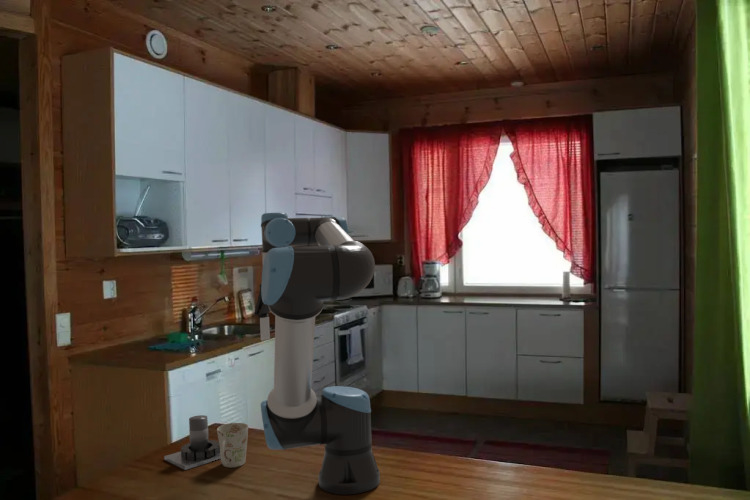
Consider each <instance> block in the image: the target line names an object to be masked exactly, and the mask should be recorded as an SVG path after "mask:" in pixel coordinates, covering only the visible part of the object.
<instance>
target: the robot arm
mask: <svg viewBox="0 0 750 500" xmlns="http://www.w3.org/2000/svg"><path fill="white" fill-rule="evenodd" d="M260 228H261V245H262V246H261V247H262V257H261V259H262V271H261V283H260V284H259V293H258V297H257V301H256V305H255V309H254V311H253V312H254V315H255V316H258V318H259V331H260V341H262V342H263V341H268V340H271V335H270V334H271V330H270V316H269V313H270V312H271V313H272V314H273V315H274V316H275V321H274V368H273V370H274V371H273V372H274V374H273V377H274V378H273V388H272V389H271V391H269V393H268V396H267V399H265V400H263V401H261V402H260V411H261V412H260V413H261V418H262V419H261V420H262V425H263V431H264V433H263V434H264V439H265V444H266V446H267V448H268V449H270V450H283V451H284V450H286V451H287V450H291V449H297V448H305V447H311V446H313V447H314V446H319V445H320V446H321V445H324V454H323V459H322V464H321V468H320V471H319V472H318V487H319V488H320V489H321V490H323V491H325V492H327V493H330V494H335V495H357V494H361V493H362V494H363V493H366V492H369V491H372V490H373V489H375V488H377V487H378V486H379V485H380V484H381V483H380V482H381V478H380V477H381V476H380V475H381V474H380V469H379V468H378V465H377V461H376V459H375V456H374V452H373V445H372V421H371V420H372V417H371V413H372V409H371V401H370V395H369V394H368V393H367V392H366V391H365V390H363V389H360V388H357V387H351V386H343V385H342V386H341V385H338V386H337V385H333V386H327V387H324V388H323V389H322V392H321V394H319V395H317V394H316V392H315V391H314V390H313V389H312V380H313V379H312V378H313V365H314V364H313V362H314V344H315V328H316V317H317V316H319V314H320V313H321V312H322V310H323V308H324V302H330V301H332V302H333V301H340V300H347V299H350V298H352V297H354V296H356V295H358V294H359V293H361V292H362V291H363V290H365V289H366V287H367V286H369V284H370V283H371V280H372V279H373V277H374V274H375V270H376V263H375V258H374V255H373V252H371V250H370V249H369V248H368V247H367V246H366V245H365V244H363V243H361V242H360V241H356V240H354V239H353V238H352V237H351V236H350V235H349V229H348V223H347V220H346V218H344V217H342V216H341V217H339V216H330V217H329V216H327V217H291V218H290V217H288V214H287V213H286V212H265V213H263V214H261V221H260Z"/></svg>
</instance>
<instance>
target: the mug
mask: <svg viewBox="0 0 750 500" xmlns="http://www.w3.org/2000/svg"><path fill="white" fill-rule="evenodd" d="M216 433H217V439H218V442H219V446H220V452H221V459H220V462H221V465H222V466H223V467H225V468H237V467H240V466H243V465H245V463H246V457H247V448H248V447H247V446H248V436H249V435H248V434H249V425H248V424H247V423H244V422H231V423H230V422H229V423H226V424H222V425H220V426H218V427H217V428H216Z"/></svg>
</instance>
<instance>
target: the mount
mask: <svg viewBox="0 0 750 500" xmlns="http://www.w3.org/2000/svg"><path fill="white" fill-rule="evenodd" d="M208 440H209V448H207V449H204V450H191V448H190V442H188V443H186V444H184V445H182V446H181V448H180V451H178V452H174V453H171V454H168V455H167V454H166V455H164V456H163V458H164V461H166V462H167V463H170V464H172V465H174V466H175V467H178V468H180V469H182V470H184V471H187V470H190V469H193V468H197V467H200V466H203V465H206V464H209V463H213V462H215V460H216V461H218V459H219V460H221V452H220V446H219V441H217V440H213V439H212V440H210V439H208ZM212 461H213V462H212Z"/></svg>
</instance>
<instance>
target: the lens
mask: <svg viewBox="0 0 750 500" xmlns="http://www.w3.org/2000/svg"><path fill="white" fill-rule="evenodd" d="M188 422H189V423H188V424H189V426H188V428H189V443H190V448H191V450H204V449H207V448H209V440H210V439H209V422H208V415H193V416H190V417H189V419H188Z"/></svg>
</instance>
